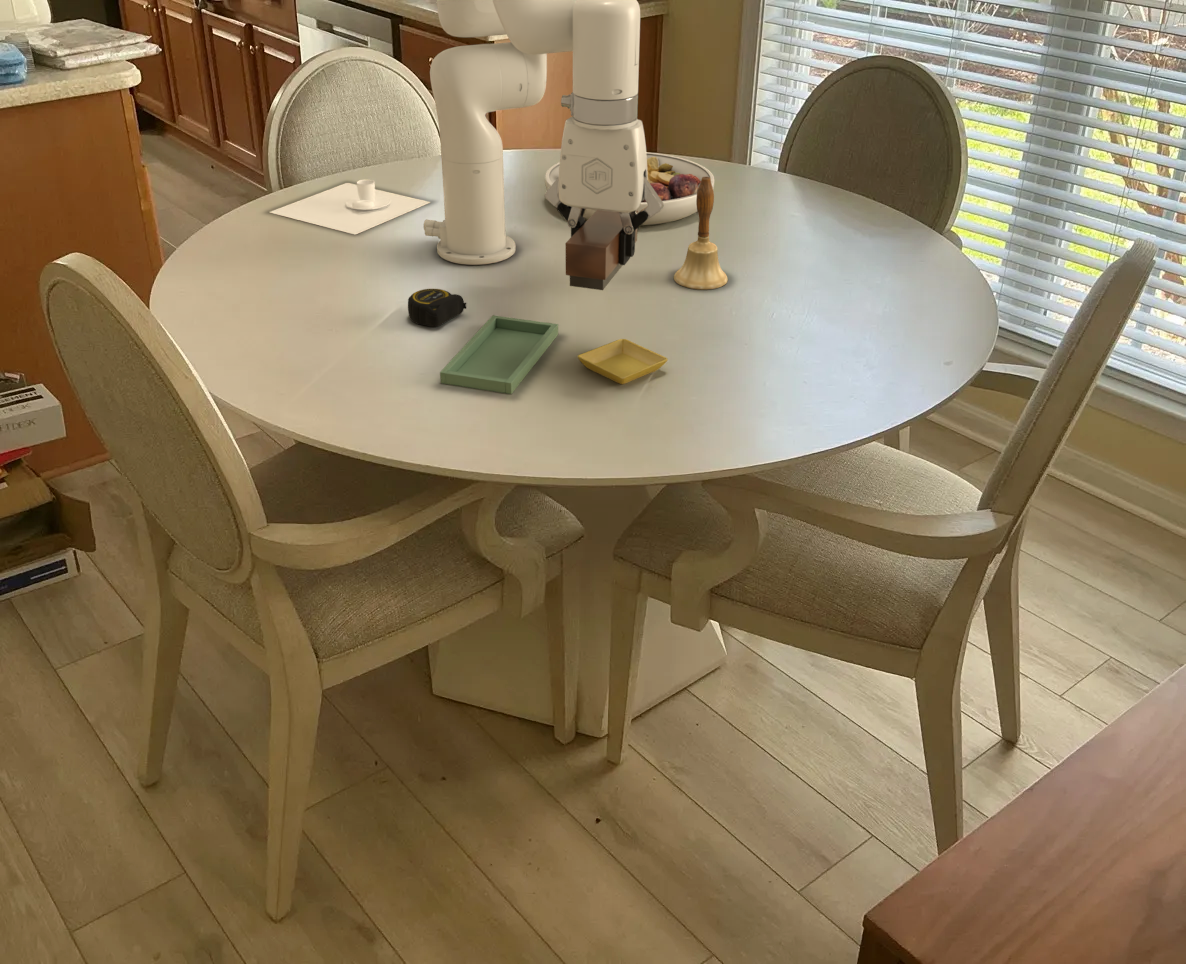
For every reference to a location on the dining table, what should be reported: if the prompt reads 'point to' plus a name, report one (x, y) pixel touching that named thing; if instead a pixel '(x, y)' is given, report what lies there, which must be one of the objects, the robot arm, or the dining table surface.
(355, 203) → the teacup and saucer
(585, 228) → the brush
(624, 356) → the yellow flat tray
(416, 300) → the tape measure
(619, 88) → the robot arm
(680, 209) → the bowl
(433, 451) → the dining table surface
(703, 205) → the hand bell
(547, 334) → the tray
